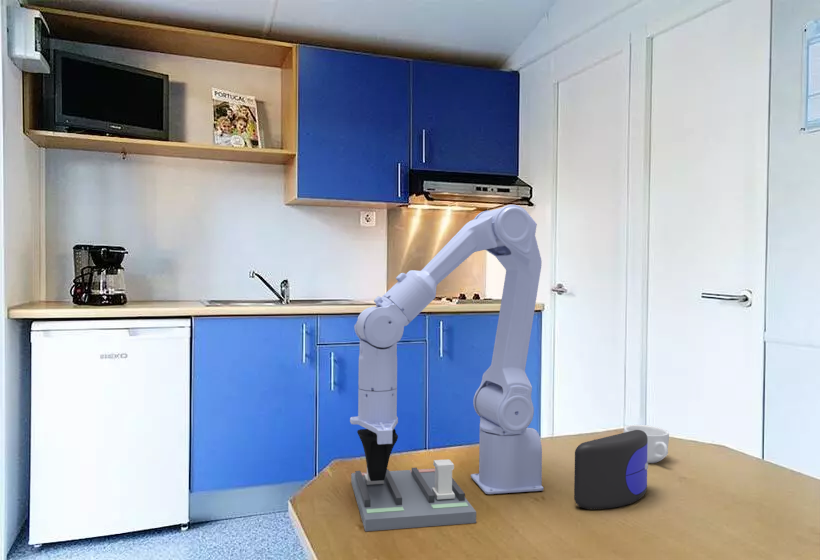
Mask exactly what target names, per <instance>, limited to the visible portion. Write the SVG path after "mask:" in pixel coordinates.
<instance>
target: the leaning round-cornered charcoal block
mask: <svg viewBox="0 0 820 560" xmlns="http://www.w3.org/2000/svg"><path fill="white" fill-rule="evenodd" d="M647 445H648V438H647V435H646V433H645V432H644V431H641V430H633V431H629V432H625V433H624V432H622V433H617V434H613V435H609V436H604V437H602V438H601V437H600V438H597V439H593V440H589V441H585V442H582V443H580V444H579V445H578V446H577V447H576V448H575V451H574V481H573V482H574V484H573V485H574V486H573V489H574V490H573V492H574V495H573V498H574V499H573V500H574V502H575V504H576V505H577V506H578V507H580V508H582V509H585V510H607V509H614V508H619V507H624V506H627V505H630V504H633V503H635V502H637V501H638V500H640V499H641V498H642V497H644V495H645V494H646V492H647V489H648V469H649V463H647Z"/></svg>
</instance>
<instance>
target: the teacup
mask: <svg viewBox="0 0 820 560" xmlns="http://www.w3.org/2000/svg"><path fill="white" fill-rule="evenodd" d="M633 430H641V431H644V432H645V433H646V435H647V438H648V445H647V463H648V464H656V463H659V462H661V461H662V460H663V459H664V458H666V457H667V456H668V454H669V441H670V433H669V431H668V430H666V429H664V428H662V427H659V426H654V425H646V424H628V425H625V426H624V427H623V433H625V432H629V431H633Z"/></svg>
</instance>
